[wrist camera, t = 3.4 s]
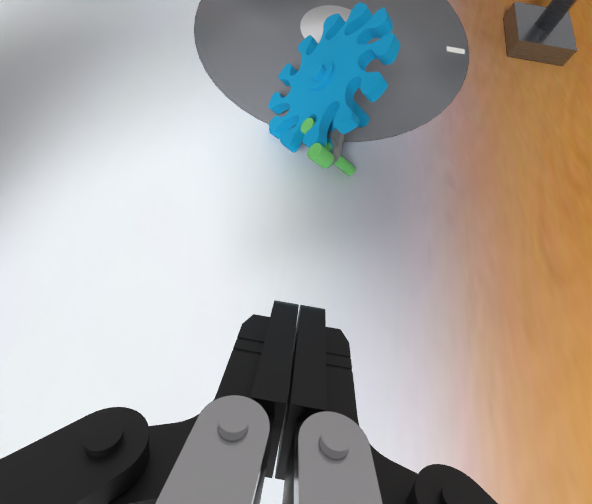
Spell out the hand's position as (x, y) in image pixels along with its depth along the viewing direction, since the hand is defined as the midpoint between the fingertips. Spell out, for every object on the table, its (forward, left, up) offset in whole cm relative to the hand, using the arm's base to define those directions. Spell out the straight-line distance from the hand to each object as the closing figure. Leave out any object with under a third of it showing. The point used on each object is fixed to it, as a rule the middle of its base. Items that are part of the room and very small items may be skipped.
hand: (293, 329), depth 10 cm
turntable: (0, +27, -11) cm, 30 cm away
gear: (0, +16, -10) cm, 19 cm away
